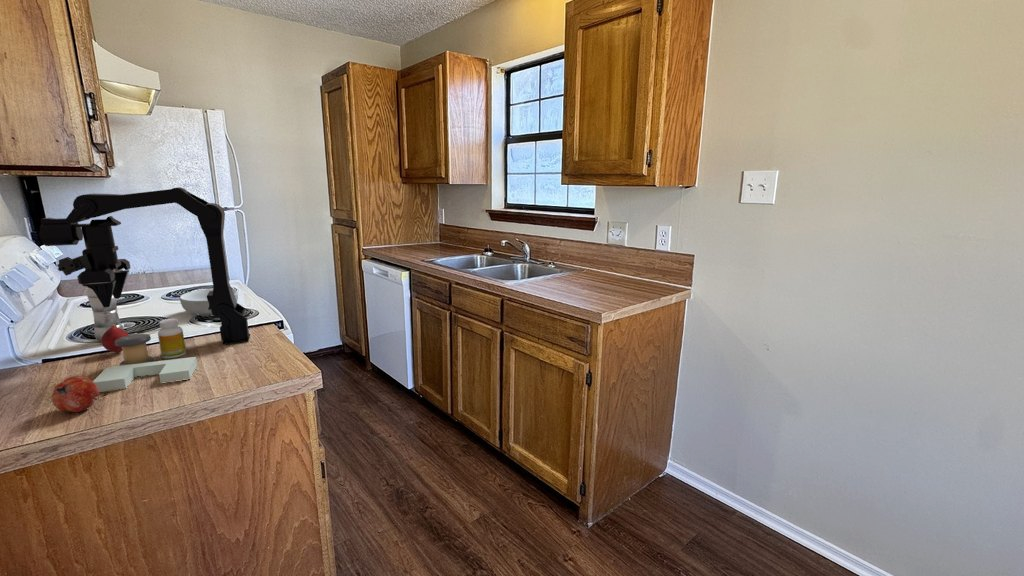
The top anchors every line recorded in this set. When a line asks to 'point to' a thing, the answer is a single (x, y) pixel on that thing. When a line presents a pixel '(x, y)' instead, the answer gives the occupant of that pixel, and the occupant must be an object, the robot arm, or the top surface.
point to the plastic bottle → (103, 314)
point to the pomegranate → (75, 394)
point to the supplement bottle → (171, 339)
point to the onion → (113, 338)
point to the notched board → (145, 373)
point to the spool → (134, 349)
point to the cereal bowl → (198, 301)
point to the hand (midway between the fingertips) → (112, 302)
